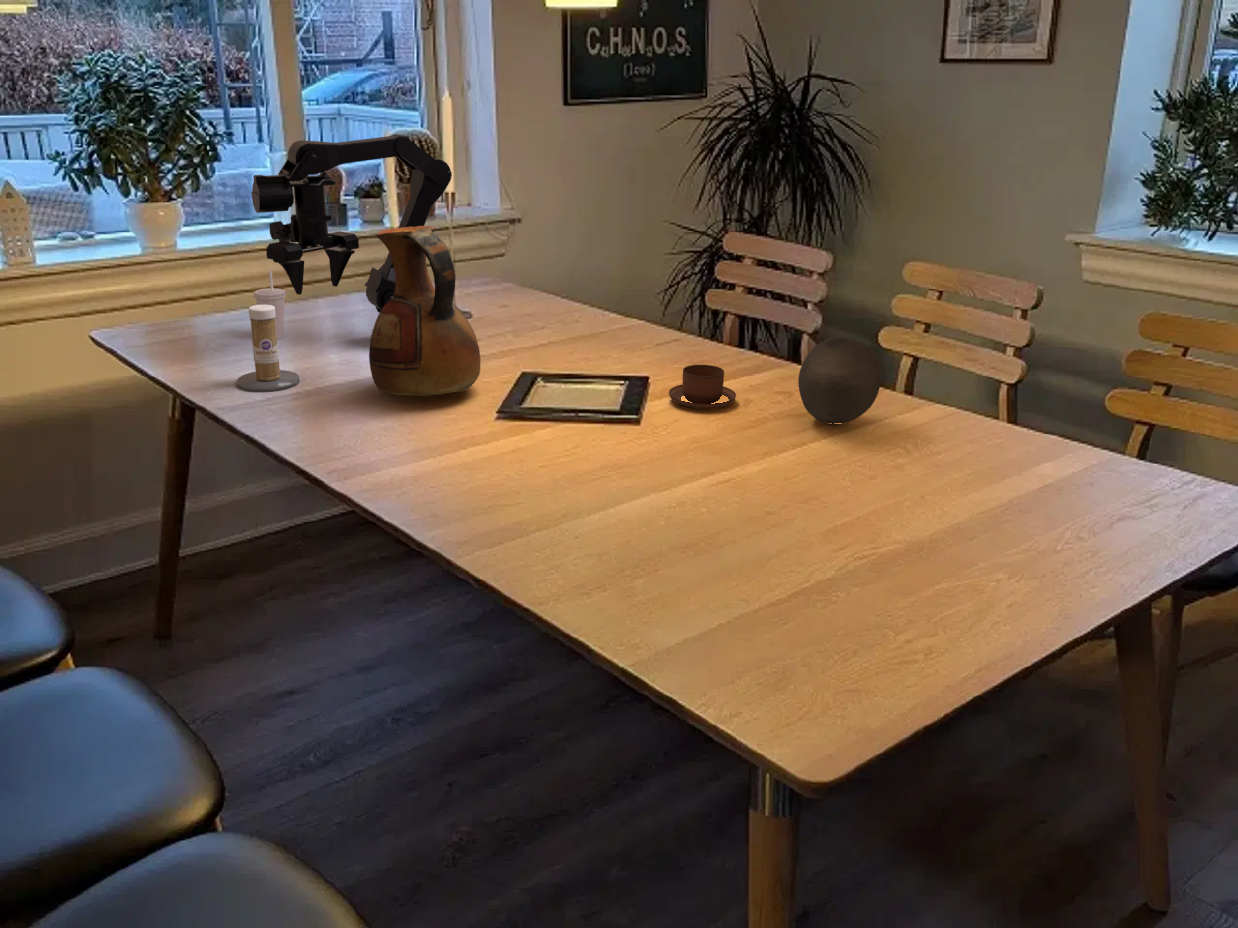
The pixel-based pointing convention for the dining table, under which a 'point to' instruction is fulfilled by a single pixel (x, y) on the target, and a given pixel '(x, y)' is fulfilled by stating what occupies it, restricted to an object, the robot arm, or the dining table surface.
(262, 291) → the smoothie
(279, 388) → the slate gray plate
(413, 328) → the ceramic pitcher
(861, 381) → the dark charcoal ball
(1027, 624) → the dining table surface
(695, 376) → the cup and saucer
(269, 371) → the sprinkles bottle
